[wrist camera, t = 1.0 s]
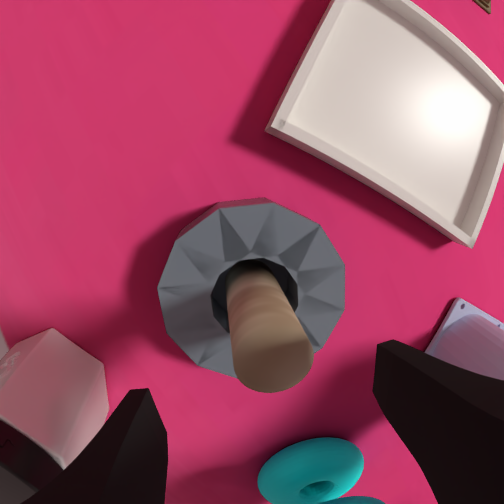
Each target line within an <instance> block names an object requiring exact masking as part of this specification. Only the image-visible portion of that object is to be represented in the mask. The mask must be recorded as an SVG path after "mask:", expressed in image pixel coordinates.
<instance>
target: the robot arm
mask: <svg viewBox="0 0 504 504" xmlns="http://www.w3.org/2000/svg"><path fill="white" fill-rule="evenodd" d="M461 305H462V306H461ZM373 393H374V395H375V398H376V400H377V402H378V404H379V406H380V408H381V410H382V411H383V413H384V415H385V417H386V418H387V420H388V421H389V422H390V424H391V425H392V427H393V428H394V430H395V431H396V433H397V434H398V435H399V437H400V438H401V440H402V441H403V442H404V444H405V445H406V447H407V448H408V449H409V451H410V452H411V454H412V455H413V457H414V458H415V459H416V461H417V463H418V464H419V466H420V468H421V469H422V471H423V473H424V475H425V477H426V479H427V481H428V483H429V485H430V487H431V489H432V491H433V493H434V496H435V498H436V500H437V502H438V504H504V324H503V323H502V322H500V321H499V320H497V319H495V318H494V317H492V316H490V315H489V314H487V313H485V312H484V311H482V310H480V309H478V308H477V307H475V306H473V305H472V304H470V303H468V302H467V301H465V300H463V299H461V298H459V297H458V298H456V299H455V300H454V302H453V304H452V306H451V308H450V310H449V311H448V313H447V315H446V317H445V319H444V320H443V322H442V324H441V326H440V327H439V329H438V331H437V333H436V334H435V336H434V338H433V339H432V341H431V343H430V344H429V346H428V347H427V349H426V351H425V352H422V351H420V350H417V349H415V348H413V347H411V346H408V345H406V344H404V343H401V342H399V341H396V340H390V341H386V342H383V343H380V344H377V352H376V363H375V373H374V383H373ZM167 466H168V444H167V431H166V429H165V427H164V425H163V422H162V420H161V418H160V415H159V413H158V410H157V408H156V406H155V403H154V401H153V398H152V396H151V393H150V390H149V388H145V389H133V390H130V391H129V392H128V393H127V394H126V396H125V397H124V398H123V400H122V401H121V402H120V404H119V405H118V406H117V408H116V409H115V411H114V412H113V413H112V415H111V416H110V417H109V419H108V420H107V421H106V422H105V424H104V425H103V426H102V428H101V429H100V430H99V431H98V433H97V434H96V435H95V437H94V438H93V439H92V440H91V441H90V442H89V443H88V445H87V446H86V447H85V448H84V449H83V450H82V452H81V453H80V454H79V455H78V456H77V457H76V458H75V459H74V460H73V461H72V462H71V463H70V464H69V465H68V466H67V467H66V468H65V469H64V470H63V471H62V472H61V473H60V474H59V475H58V476H57V477H55V478H54V479H53V480H52V481H51V482H49V483H48V484H47V485H46V486H44V487H43V488H42V489H40V490H39V491H38V492H36V493H35V494H34V495H32V496H31V497H30V498H28V499H27V500H25V501H23V502H22V503H20V504H164V501H165V489H166V478H167Z"/></svg>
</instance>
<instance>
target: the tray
mask: <svg viewBox="0 0 504 504" xmlns="http://www.w3.org/2000/svg"><path fill="white" fill-rule="evenodd" d="M264 131H265V132H267V133H269V134H271V135H273V136H275V137H277V138H279V139H281V140H283V141H285V142H287V143H289V144H291V145H293V146H295V147H297V148H299V149H301V150H303V151H305V152H307V153H309V154H311V155H313V156H315V157H317V158H319V159H320V160H322V161H324V162H326V163H328V164H330V165H332V166H333V167H335V168H337V169H339V170H341V171H342V172H344V173H346V174H348V175H350V176H351V177H353V178H355V179H357V180H358V181H360V182H362V183H363V184H365V185H367V186H369V187H370V188H372V189H374V190H375V191H377V192H379V193H380V194H382V195H384V196H385V197H387V198H388V199H390V200H392V201H393V202H395V203H396V204H398V205H400V206H401V207H403V208H404V209H406V210H407V211H409V212H411V213H412V214H414V215H415V216H417V217H418V218H420V219H421V220H423V221H424V222H426V223H427V224H429V225H430V226H432V227H433V228H435V229H436V230H438V231H439V232H441V233H442V234H443V235H445V236H446V237H448V238H449V239H451V240H452V241H454V242H456V243H459V244H461V245H464V246H466V247H469V248H473V246H474V244H475V241H476V239H477V236H478V234H479V232H480V229H481V227H482V224H483V222H484V219H485V216H486V214H487V211H488V208H489V205H490V203H491V200H492V197H493V194H494V191H495V188H496V185H497V182H498V179H499V176H500V172H501V169H502V166H503V162H504V85H503V83H502V82H501V81H500V80H499V79H498V78H497V77H496V76H495V75H494V74H493V73H492V71H491V70H490V69H489V68H488V67H487V66H486V65H485V64H484V63H483V62H482V61H481V60H480V59H479V58H478V57H477V56H476V55H475V54H474V53H473V52H472V51H471V50H470V49H469V48H467V47H466V46H465V45H464V44H463V43H462V42H461V41H460V40H459V39H458V38H457V37H455V36H454V35H453V34H452V33H451V32H450V31H448V30H447V29H446V28H445V27H444V26H443V25H441V24H440V23H439V22H438V21H436V20H435V19H434V18H433V17H431V16H430V15H429V14H428V13H426V12H425V11H424V10H422V9H421V8H420V7H418V6H417V5H416V4H414V3H413V2H412V1H410V0H331V1H330V3H329V5H328V7H327V9H326V11H325V12H324V14H323V16H322V18H321V20H320V22H319V24H318V25H317V27H316V29H315V31H314V33H313V35H312V37H311V39H310V41H309V43H308V44H307V46H306V48H305V50H304V52H303V54H302V56H301V58H300V60H299V62H298V64H297V66H296V68H295V70H294V72H293V74H292V76H291V78H290V80H289V82H288V84H287V86H286V88H285V90H284V92H283V94H282V96H281V98H280V100H279V102H278V104H277V106H276V108H275V110H274V112H273V114H272V116H271V118H270V120H269V122H268V124H267V126H266V128H265V130H264Z"/></svg>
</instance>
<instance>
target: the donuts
mask: <svg viewBox="0 0 504 504" xmlns="http://www.w3.org/2000/svg"><path fill="white" fill-rule="evenodd" d="M363 467H364V459H363V455H362V453H361V451H360V450H359V448H358V447H357V446H356V445H354V444H353V443H351V442H349V441H347V440H344V439H340V438H333V437H322V438H314V439H309V440H305V441H301V442H298V443H295V444H293V445H290V446H288V447H286V448H284V449H282V450H281V451H279V452H278V453H276V454H275V455H273V456H272V457H271V458H270V459H269V460H268V461H267V462H266V463H265V464H264V465H263V467H262V468H261V470H260V472H259V475H258V481H257V483H258V488H259V491H260V493H261V494H262V496H263V497H264V498H265V499H266V500H267V501H269V502H270V503H272V504H385V503H384V502H382V501H381V500H379V499H376V498H373V497H366V496H351V497H343V498H339V497H340V496H342V495H343V494H345V493H346V492H347V491H349V490H350V489H351V488H352V487H353V486H354V485H355V483H356V482H357V481H358V479H359V478H360V476H361V473H362V471H363ZM337 498H338V499H337Z"/></svg>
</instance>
